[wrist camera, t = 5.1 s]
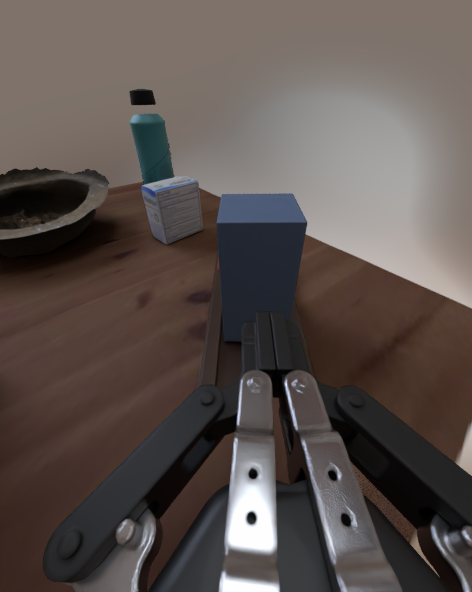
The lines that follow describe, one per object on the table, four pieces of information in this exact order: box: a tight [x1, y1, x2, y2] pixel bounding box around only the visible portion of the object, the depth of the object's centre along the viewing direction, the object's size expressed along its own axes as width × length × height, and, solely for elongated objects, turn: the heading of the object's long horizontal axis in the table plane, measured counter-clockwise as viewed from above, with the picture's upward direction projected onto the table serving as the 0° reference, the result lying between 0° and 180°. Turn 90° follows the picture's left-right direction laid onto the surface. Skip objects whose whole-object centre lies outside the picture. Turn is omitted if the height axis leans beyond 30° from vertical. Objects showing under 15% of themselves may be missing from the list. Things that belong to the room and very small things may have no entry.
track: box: [197, 255, 316, 388], centre depth 31 cm, size 10×28×1 cm, turn 179°
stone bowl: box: [0, 168, 109, 258], centre depth 41 cm, size 25×25×9 cm
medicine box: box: [141, 176, 203, 245], centre depth 41 cm, size 8×4×9 cm, turn 135°
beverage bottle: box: [130, 89, 174, 185], centre depth 48 cm, size 6×7×20 cm
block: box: [216, 194, 307, 342], centre depth 22 cm, size 6×6×12 cm
